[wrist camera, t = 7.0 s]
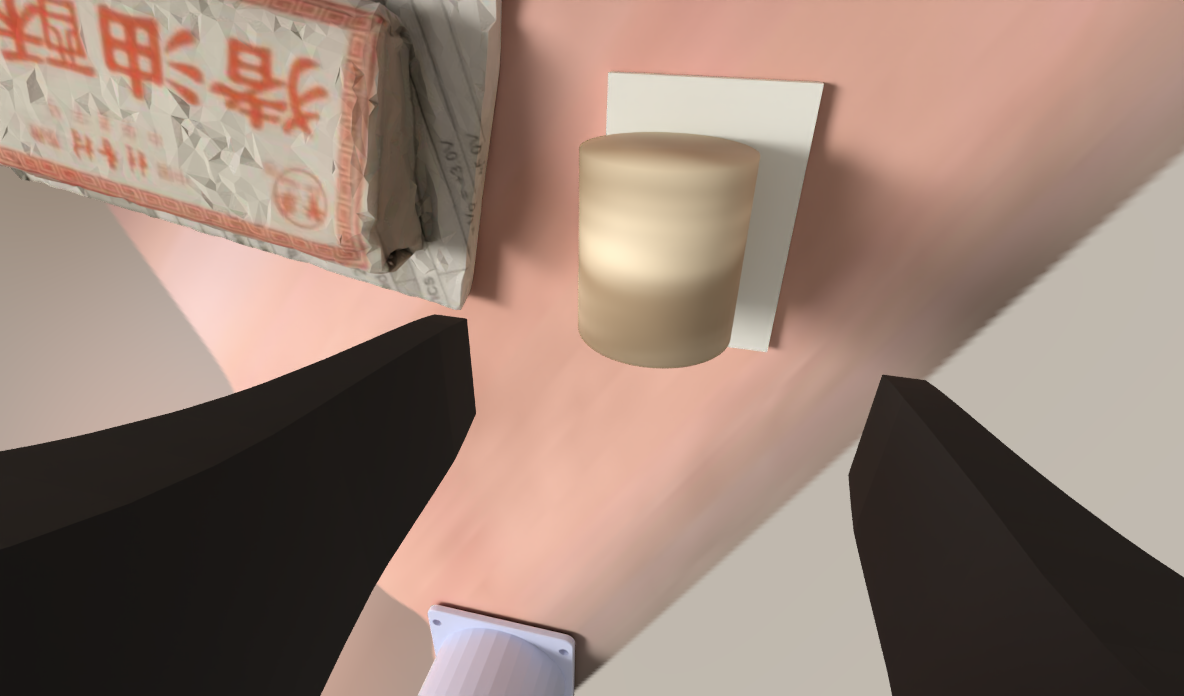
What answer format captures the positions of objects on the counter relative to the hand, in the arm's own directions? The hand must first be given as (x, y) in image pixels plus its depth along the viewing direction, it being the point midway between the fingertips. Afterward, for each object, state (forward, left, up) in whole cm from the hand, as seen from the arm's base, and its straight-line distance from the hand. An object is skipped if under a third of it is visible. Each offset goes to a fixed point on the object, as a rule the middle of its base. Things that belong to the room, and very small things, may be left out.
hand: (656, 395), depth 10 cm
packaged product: (+3, +15, -10) cm, 19 cm away
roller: (0, +1, -9) cm, 9 cm away
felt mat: (0, 0, -9) cm, 9 cm away
